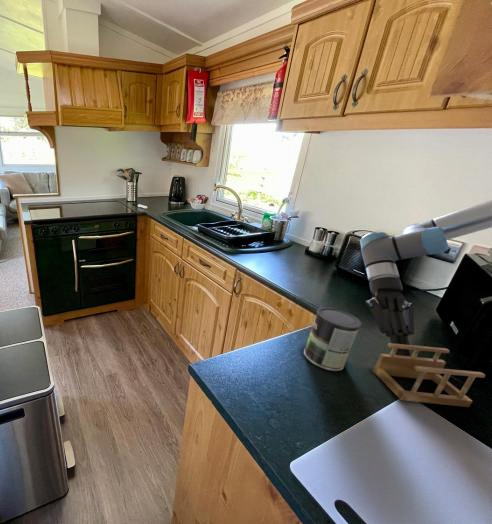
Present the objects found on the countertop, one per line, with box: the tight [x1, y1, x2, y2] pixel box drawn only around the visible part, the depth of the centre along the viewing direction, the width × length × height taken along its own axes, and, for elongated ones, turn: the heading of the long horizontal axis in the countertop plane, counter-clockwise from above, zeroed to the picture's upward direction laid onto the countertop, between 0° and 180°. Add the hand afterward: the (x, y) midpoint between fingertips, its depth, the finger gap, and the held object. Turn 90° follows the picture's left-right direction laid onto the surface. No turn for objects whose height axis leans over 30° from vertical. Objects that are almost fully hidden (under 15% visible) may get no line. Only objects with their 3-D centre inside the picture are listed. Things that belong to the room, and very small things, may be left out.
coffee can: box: [303, 306, 362, 372], centre depth 81 cm, size 10×10×14 cm
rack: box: [372, 342, 486, 408], centre depth 73 cm, size 10×16×10 cm, turn 86°
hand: (404, 360), depth 79 cm, fingers closed
